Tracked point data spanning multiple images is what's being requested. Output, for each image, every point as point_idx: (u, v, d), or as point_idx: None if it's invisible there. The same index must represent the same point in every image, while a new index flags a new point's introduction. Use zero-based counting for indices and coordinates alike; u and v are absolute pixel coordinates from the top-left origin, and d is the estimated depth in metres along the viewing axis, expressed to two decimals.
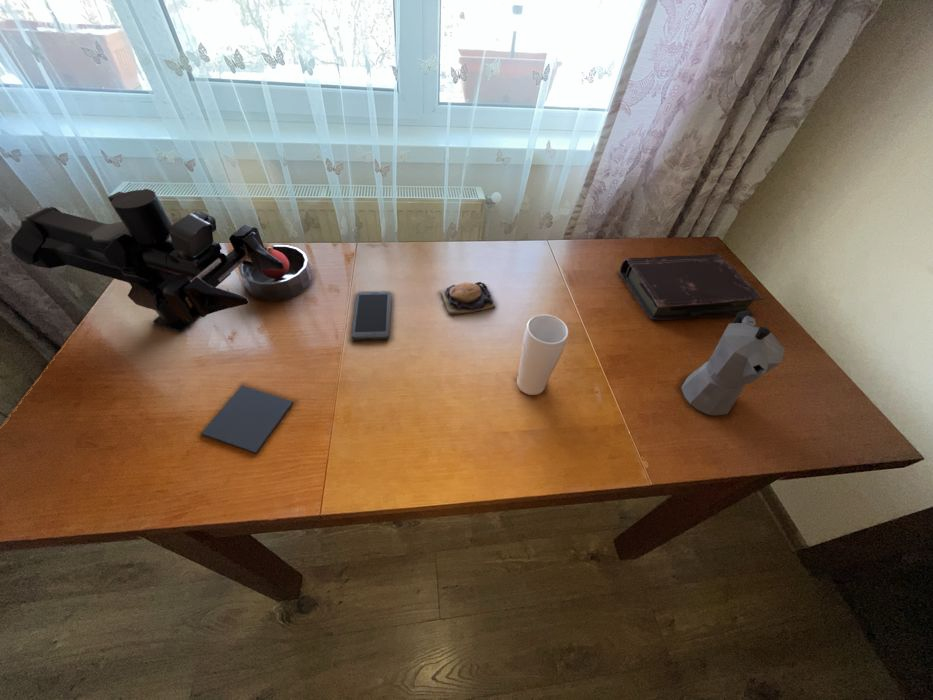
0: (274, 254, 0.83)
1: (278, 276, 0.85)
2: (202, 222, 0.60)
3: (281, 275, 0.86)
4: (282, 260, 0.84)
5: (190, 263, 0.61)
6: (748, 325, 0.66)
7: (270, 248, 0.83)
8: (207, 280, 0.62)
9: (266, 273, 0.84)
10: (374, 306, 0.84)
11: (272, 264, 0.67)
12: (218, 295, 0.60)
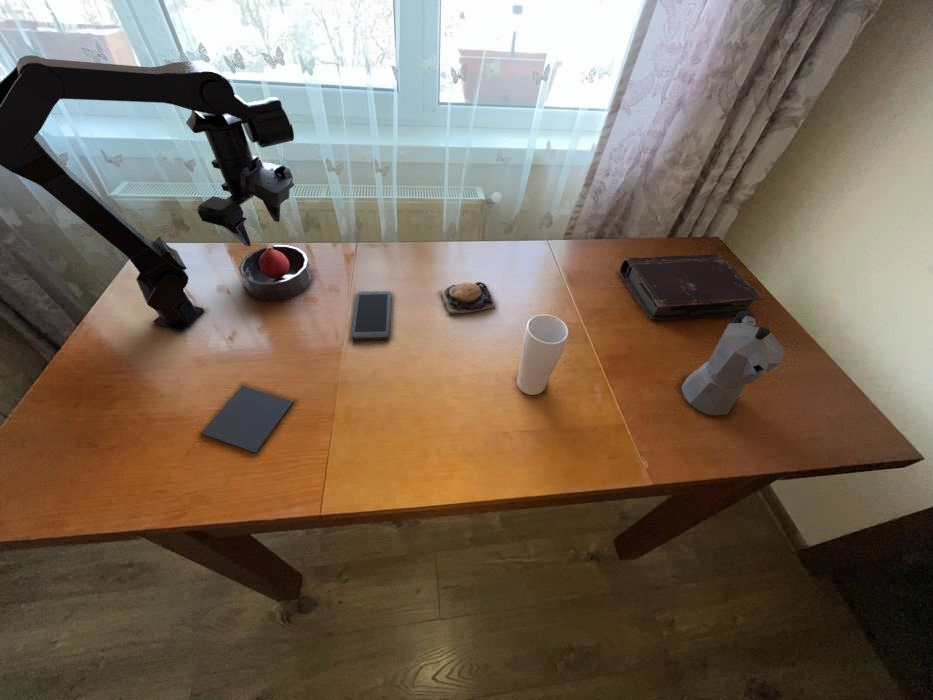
0: (274, 254, 0.83)
1: (278, 276, 0.85)
2: (288, 195, 0.73)
3: (281, 275, 0.86)
4: (282, 260, 0.84)
5: (248, 196, 0.70)
6: (748, 325, 0.66)
7: (270, 248, 0.83)
8: None
9: (266, 273, 0.84)
10: (374, 306, 0.84)
11: (273, 213, 0.81)
12: (241, 233, 0.73)
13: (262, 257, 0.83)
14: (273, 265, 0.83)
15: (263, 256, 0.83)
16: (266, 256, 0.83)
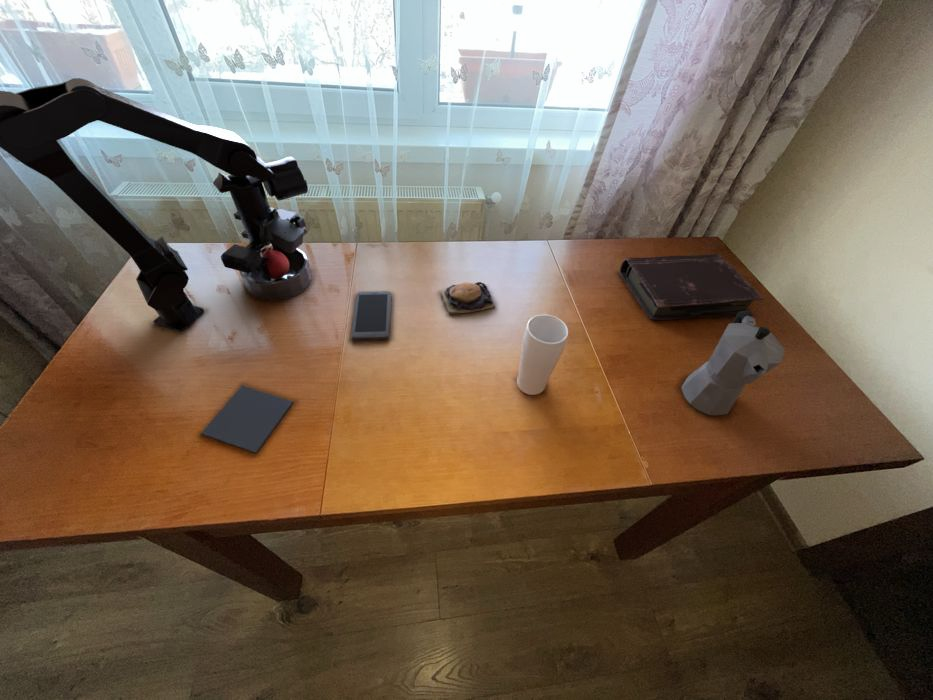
0: (274, 254, 0.83)
1: (278, 276, 0.85)
2: (301, 241, 0.80)
3: (281, 275, 0.86)
4: (282, 260, 0.84)
5: (266, 243, 0.78)
6: (748, 325, 0.66)
7: (270, 248, 0.83)
8: None
9: None
10: (374, 306, 0.84)
11: None
12: (263, 271, 0.82)
13: None
14: (273, 265, 0.83)
15: (263, 256, 0.83)
16: (266, 256, 0.83)
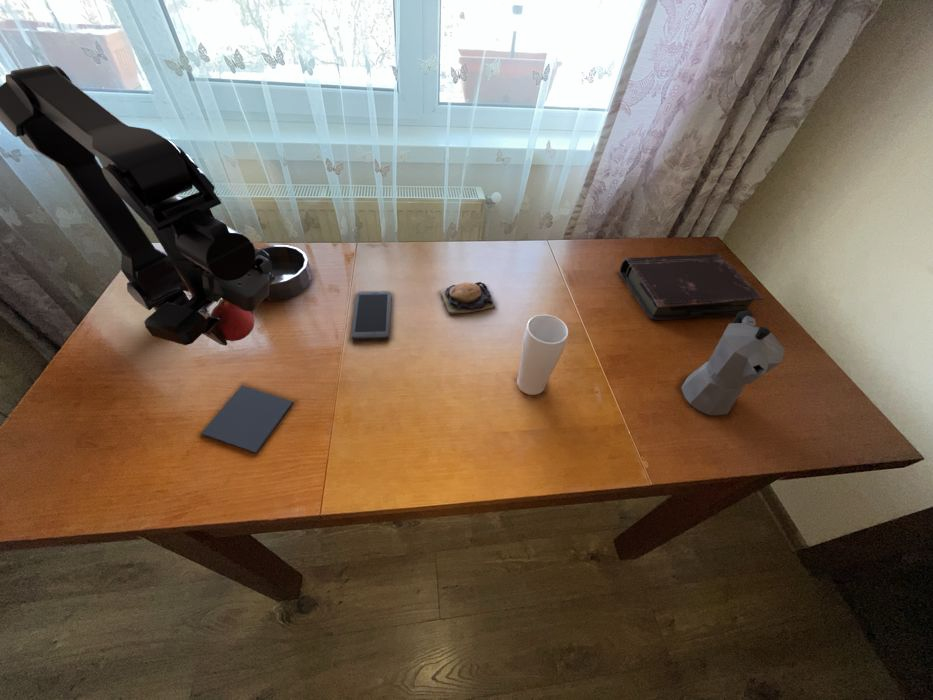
0: (230, 309, 0.59)
1: (238, 338, 0.61)
2: (267, 292, 0.56)
3: (242, 336, 0.62)
4: (243, 316, 0.60)
5: (214, 299, 0.54)
6: (748, 325, 0.66)
7: (224, 301, 0.59)
8: None
9: None
10: (374, 306, 0.84)
11: None
12: (214, 335, 0.58)
13: (213, 314, 0.59)
14: (229, 324, 0.59)
15: (215, 312, 0.59)
16: (218, 312, 0.59)
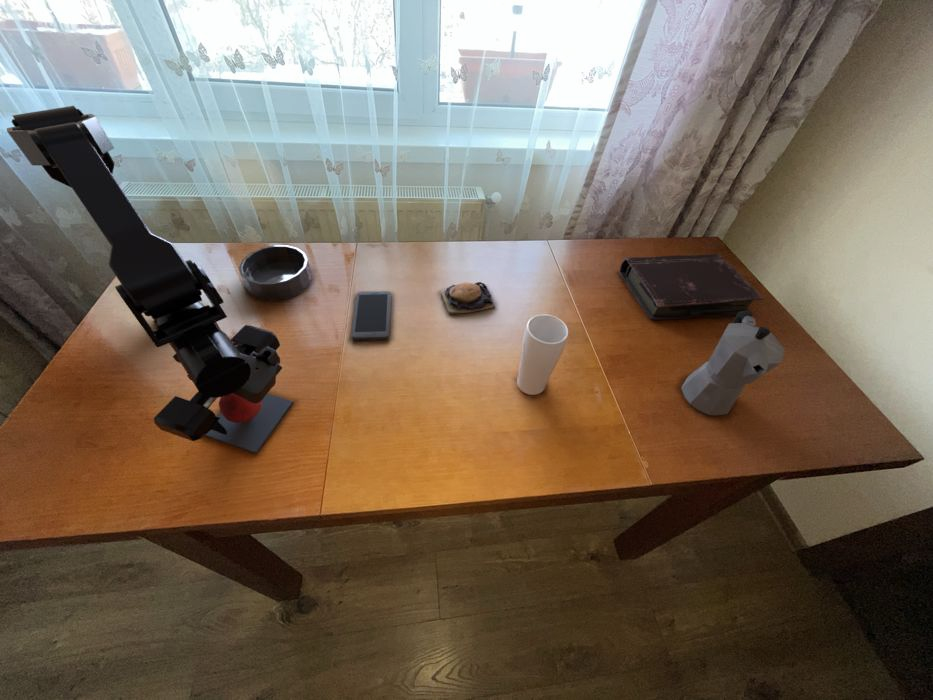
0: None
1: (246, 421, 0.63)
2: (274, 382, 0.57)
3: (250, 419, 0.63)
4: None
5: None
6: (748, 325, 0.66)
7: None
8: (210, 397, 0.56)
9: (229, 419, 0.61)
10: (374, 306, 0.84)
11: None
12: (213, 430, 0.57)
13: (222, 400, 0.60)
14: (237, 410, 0.60)
15: (224, 399, 0.60)
16: (227, 399, 0.60)
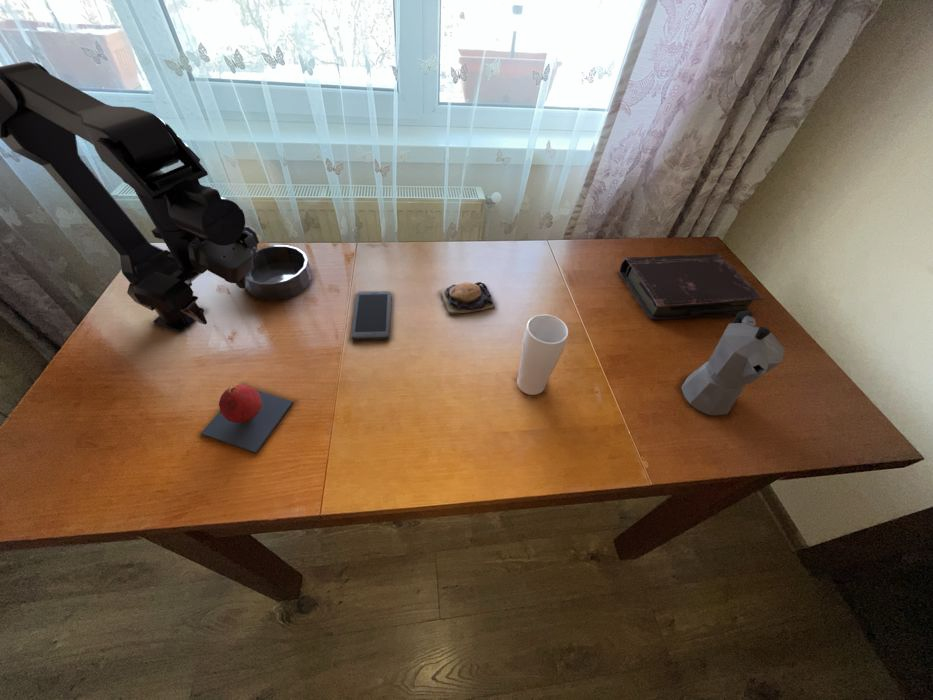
0: (239, 395, 0.61)
1: (246, 421, 0.63)
2: (251, 266, 0.59)
3: (250, 419, 0.63)
4: (251, 401, 0.62)
5: (200, 271, 0.56)
6: (748, 325, 0.66)
7: (233, 388, 0.60)
8: None
9: (229, 419, 0.61)
10: (374, 306, 0.84)
11: None
12: (193, 313, 0.60)
13: (222, 400, 0.60)
14: (237, 410, 0.60)
15: (224, 399, 0.60)
16: (227, 399, 0.60)
